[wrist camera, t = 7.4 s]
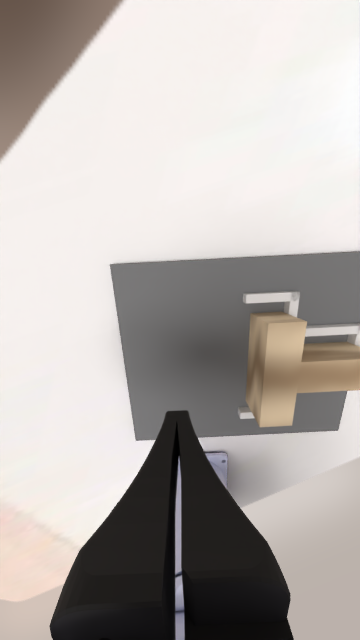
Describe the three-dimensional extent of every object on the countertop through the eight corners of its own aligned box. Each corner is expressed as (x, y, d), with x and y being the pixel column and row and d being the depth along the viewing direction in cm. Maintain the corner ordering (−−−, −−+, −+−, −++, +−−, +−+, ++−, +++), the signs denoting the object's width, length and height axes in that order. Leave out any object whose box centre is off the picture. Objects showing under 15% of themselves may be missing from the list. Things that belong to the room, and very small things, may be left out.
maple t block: (335, 395, 20) (368, 421, 16) (245, 400, 20) (259, 427, 16) (354, 307, 17) (397, 316, 14) (250, 313, 17) (268, 323, 14)
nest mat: (333, 426, 22) (344, 436, 20) (136, 436, 22) (134, 447, 20) (372, 251, 16) (390, 249, 15) (112, 264, 16) (106, 264, 15)
